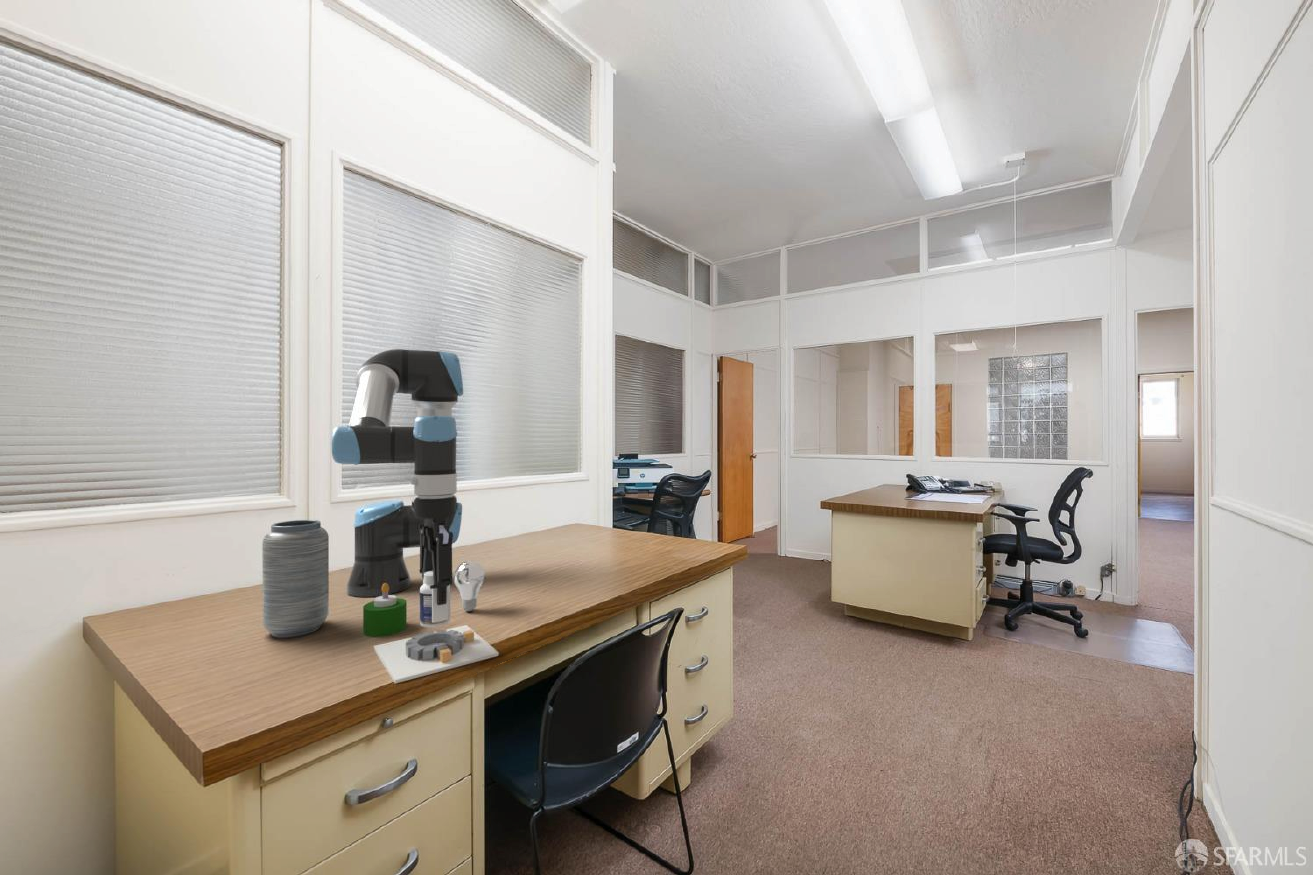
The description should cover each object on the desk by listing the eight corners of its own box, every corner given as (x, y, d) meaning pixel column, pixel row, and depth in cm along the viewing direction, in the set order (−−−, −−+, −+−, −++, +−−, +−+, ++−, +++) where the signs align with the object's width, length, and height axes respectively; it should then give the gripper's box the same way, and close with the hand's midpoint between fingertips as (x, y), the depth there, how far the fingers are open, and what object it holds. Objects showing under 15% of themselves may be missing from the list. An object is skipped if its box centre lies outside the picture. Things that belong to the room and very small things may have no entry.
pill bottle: (425, 618, 103) (425, 569, 103) (453, 617, 103) (453, 568, 103) (415, 628, 97) (415, 576, 97) (445, 627, 98) (445, 575, 98)
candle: (415, 624, 115) (415, 579, 115) (387, 638, 107) (387, 590, 107) (383, 621, 117) (382, 576, 117) (353, 634, 109) (353, 587, 109)
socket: (373, 648, 102) (373, 636, 102) (466, 627, 113) (466, 616, 113) (395, 683, 88) (395, 669, 88) (498, 655, 99) (498, 642, 99)
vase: (337, 618, 118) (337, 518, 118) (313, 638, 107) (313, 527, 107) (281, 621, 116) (281, 519, 116) (250, 642, 105) (249, 528, 105)
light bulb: (474, 617, 119) (474, 565, 119) (447, 615, 121) (447, 563, 121) (490, 607, 126) (490, 558, 126) (464, 605, 128) (464, 556, 127)
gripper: (402, 492, 105) (402, 607, 105) (428, 502, 91) (428, 635, 91) (441, 490, 110) (441, 600, 110) (471, 499, 95) (471, 625, 96)
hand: (435, 615), depth 100 cm, fingers closed on pill bottle, 5 cm apart
